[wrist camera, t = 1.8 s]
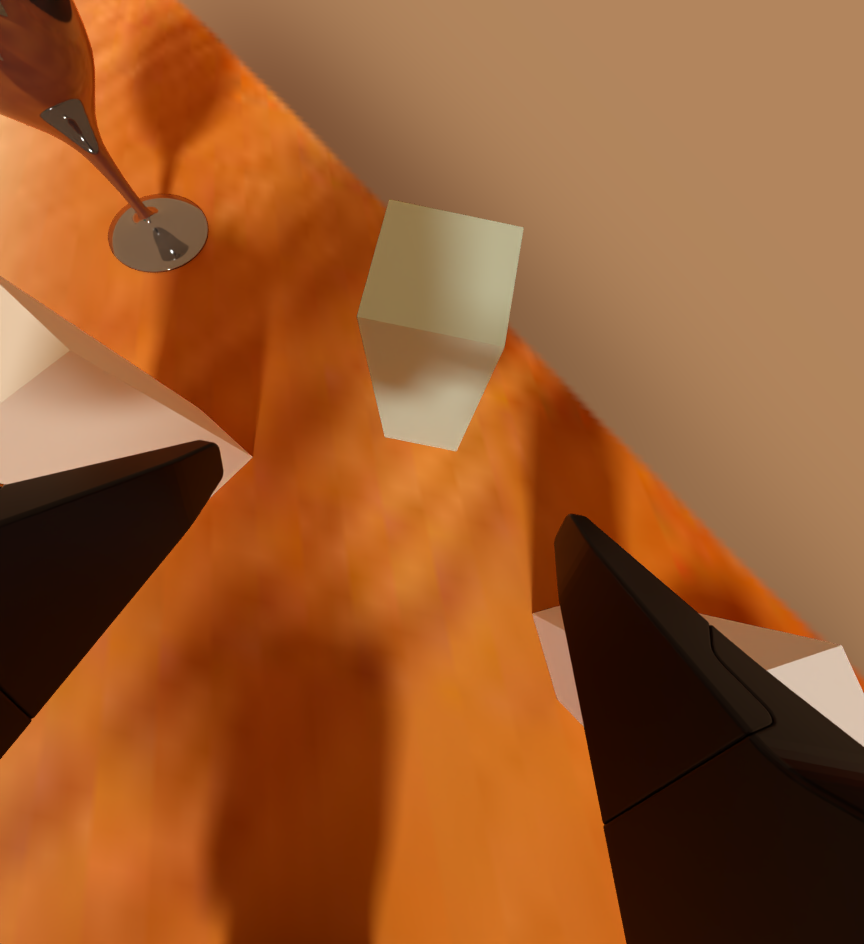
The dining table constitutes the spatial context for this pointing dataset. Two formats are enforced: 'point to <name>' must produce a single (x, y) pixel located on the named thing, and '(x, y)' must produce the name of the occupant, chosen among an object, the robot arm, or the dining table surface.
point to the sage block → (436, 318)
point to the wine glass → (86, 127)
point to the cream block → (83, 400)
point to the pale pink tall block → (782, 654)
